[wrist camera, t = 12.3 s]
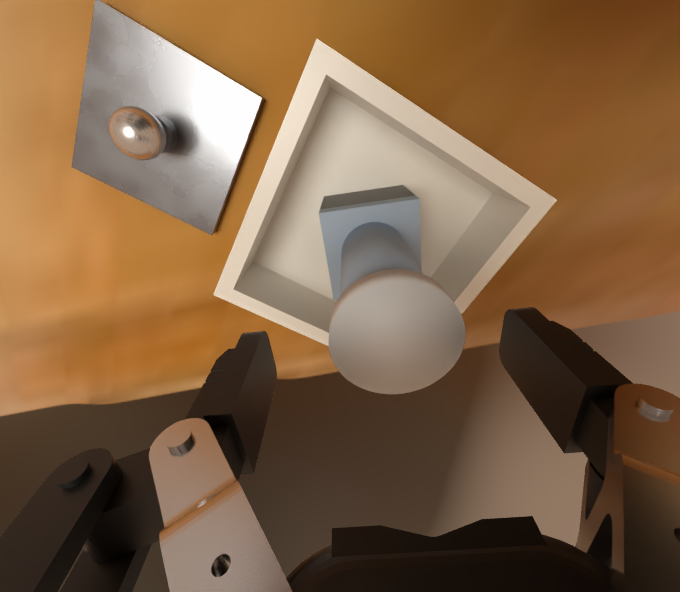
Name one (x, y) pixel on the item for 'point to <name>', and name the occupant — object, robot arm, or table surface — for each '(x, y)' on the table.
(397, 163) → the parts tray
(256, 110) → the stud mount
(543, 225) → the table surface
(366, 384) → the knob
